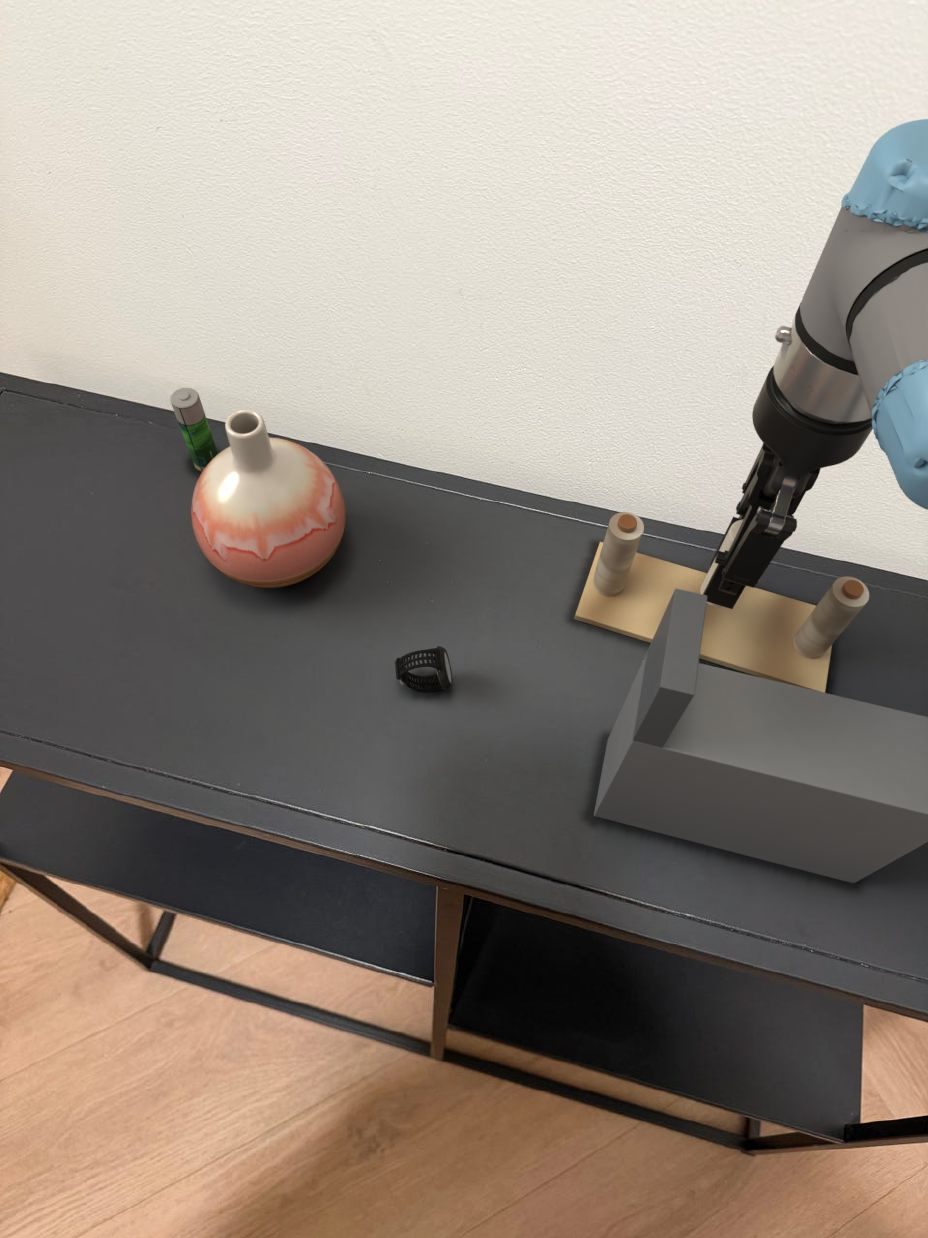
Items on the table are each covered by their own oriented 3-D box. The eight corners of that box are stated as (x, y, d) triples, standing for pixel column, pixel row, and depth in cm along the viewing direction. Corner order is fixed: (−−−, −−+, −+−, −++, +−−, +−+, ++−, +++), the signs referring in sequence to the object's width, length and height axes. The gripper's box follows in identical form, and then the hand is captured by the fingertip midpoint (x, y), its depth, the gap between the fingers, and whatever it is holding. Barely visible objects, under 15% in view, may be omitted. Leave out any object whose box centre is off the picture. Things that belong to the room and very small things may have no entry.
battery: (216, 449, 88) (192, 381, 79) (224, 467, 86) (201, 399, 78) (191, 458, 87) (164, 390, 79) (199, 476, 86) (173, 409, 78)
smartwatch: (447, 708, 73) (447, 683, 69) (391, 693, 74) (388, 667, 69) (460, 668, 75) (461, 641, 71) (405, 654, 76) (403, 626, 71)
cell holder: (833, 616, 79) (884, 552, 70) (821, 697, 75) (873, 639, 66) (598, 546, 82) (618, 476, 74) (574, 619, 78) (591, 555, 69)
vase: (189, 600, 78) (129, 475, 63) (232, 487, 85) (188, 351, 70) (332, 622, 77) (306, 501, 62) (364, 506, 84) (348, 373, 69)
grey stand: (855, 801, 70) (1030, 668, 49) (854, 884, 66) (1041, 778, 46) (607, 739, 72) (675, 587, 51) (593, 816, 68) (659, 686, 48)
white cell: (740, 595, 75) (777, 531, 67) (718, 613, 74) (753, 550, 66) (714, 573, 76) (748, 508, 68) (693, 591, 75) (724, 527, 67)
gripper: (788, 294, 58) (698, 505, 78) (748, 458, 50) (660, 646, 71) (898, 321, 57) (777, 528, 77) (875, 493, 49) (748, 674, 69)
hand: (721, 584), depth 74 cm, fingers closed on white cell, 3 cm apart
